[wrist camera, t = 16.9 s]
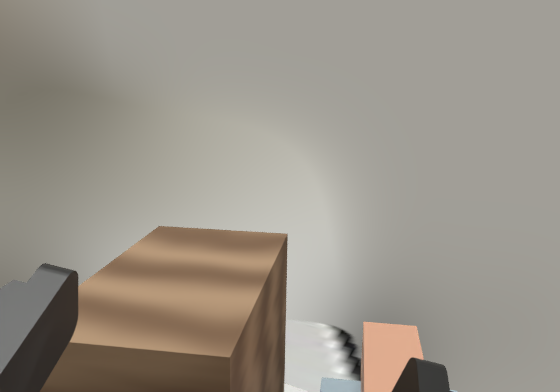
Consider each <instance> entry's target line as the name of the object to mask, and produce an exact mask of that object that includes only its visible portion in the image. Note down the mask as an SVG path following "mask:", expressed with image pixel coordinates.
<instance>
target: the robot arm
mask: <svg viewBox="0 0 560 392" xmlns="http://www.w3.org/2000/svg"><path fill="white" fill-rule="evenodd" d="M77 321H78V274H77V272H76V271H73V270H70V269H66V268H61V267H57V266H54V265H50V264H46V263H45V264H42V265H41V266H40V267H39V268H38V269H37V270H36V271H35V273H34V274H33V275H32V277H31V278H30V279H29V281H28V282H27V283H25V282H21V281H17V280H13V281H11V282H9V283H8V284H6V285H4V286H3V287H1V288H0V392H40V390H41V389H42V387H43V385H44V384H45V382H46V380H47V379H48V377H49V375H50V374H51V372H52V370H53V369H54V367H55V365H56V364H57V362H58V360H59V359H60V357H61V355H62V354H63V352H64V350H65V349H66V347H67V345H68V344H69V342H70V340H71V338H72V336H73V334H74V331H75V328H76V325H77ZM392 392H453V391H450V388H449V382H448V376H447V371H446V368H445V366H444V365H441V364H437V363H433V362H430V361H426V360H422V359H418V358H414V357H412V358H410V359H409V361H408V362H407V364H406V366H405V368H404V370H403V371H402V373H401V375H400V377H399V379H398V381H397V382H396V384H395V386H394V388H393V390H392Z"/></svg>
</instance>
